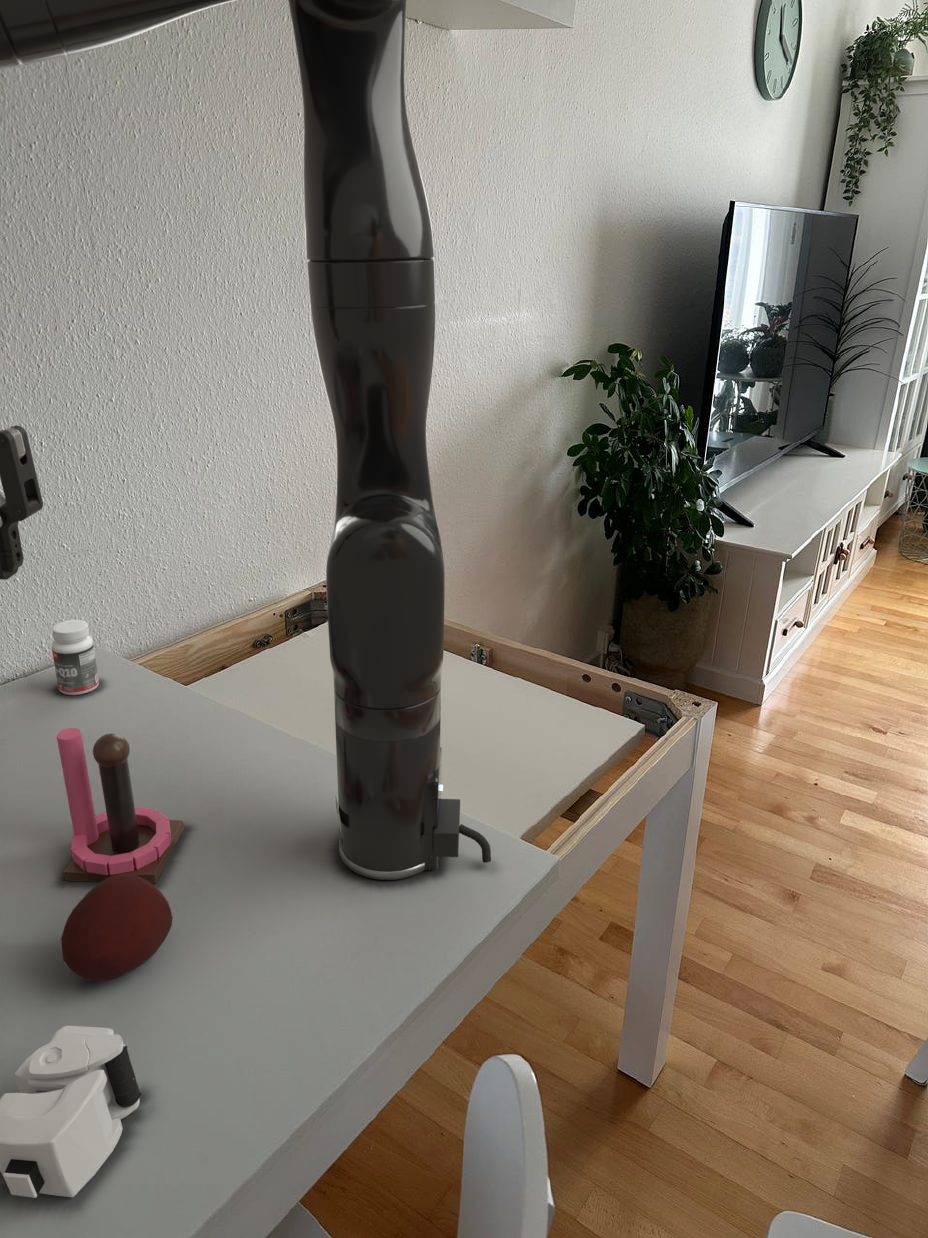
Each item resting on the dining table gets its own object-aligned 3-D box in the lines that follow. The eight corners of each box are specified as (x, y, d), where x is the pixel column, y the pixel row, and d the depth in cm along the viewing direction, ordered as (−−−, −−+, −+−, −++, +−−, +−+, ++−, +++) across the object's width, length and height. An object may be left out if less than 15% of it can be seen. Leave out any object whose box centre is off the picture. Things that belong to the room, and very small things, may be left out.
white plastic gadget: (158, 1067, 61) (90, 1222, 52) (65, 1060, 61) (-18, 1213, 52) (141, 1007, 58) (66, 1160, 49) (44, 1001, 59) (-47, 1151, 50)
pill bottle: (50, 691, 111) (39, 629, 107) (78, 675, 115) (68, 615, 111) (80, 699, 109) (69, 636, 106) (107, 683, 113) (98, 622, 110)
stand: (184, 828, 86) (170, 714, 81) (155, 884, 78) (138, 762, 74) (101, 826, 86) (82, 711, 81) (65, 881, 79) (41, 759, 74)
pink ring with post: (187, 824, 85) (174, 720, 80) (140, 881, 77) (124, 770, 73) (103, 811, 86) (86, 709, 82) (49, 866, 79) (27, 757, 74)
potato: (62, 992, 69) (22, 921, 67) (147, 917, 75) (113, 850, 73) (118, 1012, 65) (76, 937, 62) (203, 931, 71) (168, 860, 69)
